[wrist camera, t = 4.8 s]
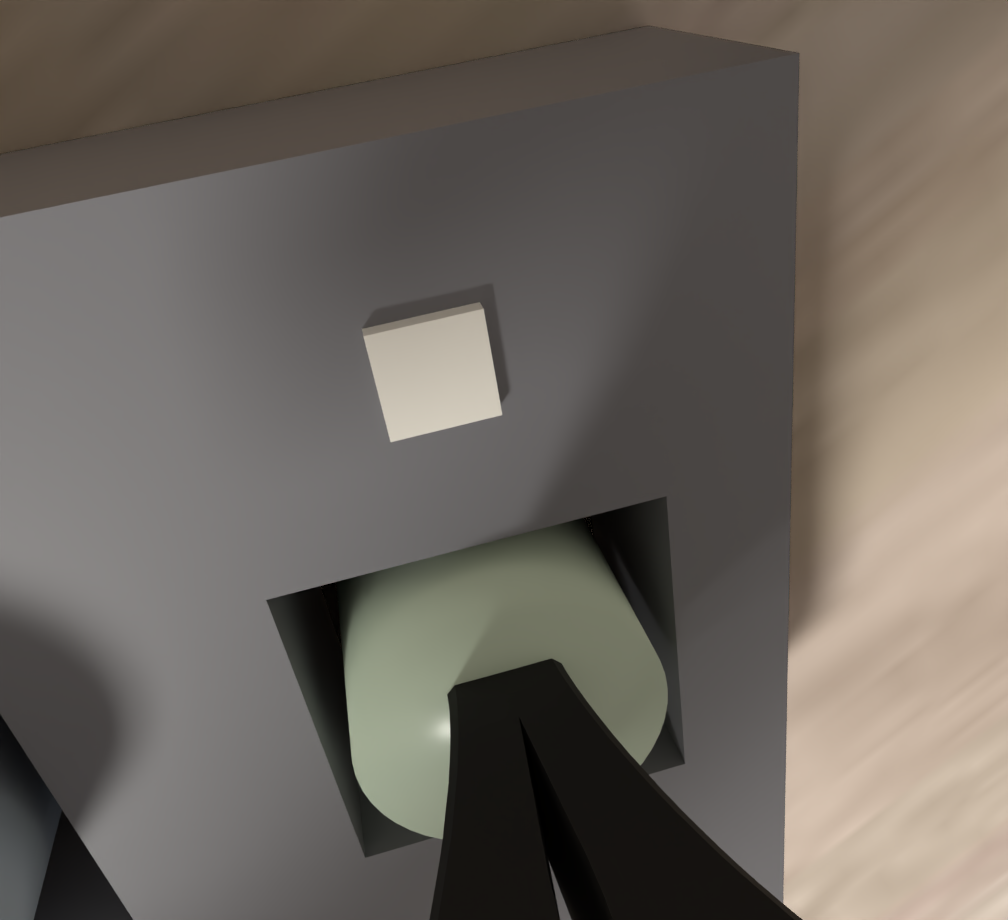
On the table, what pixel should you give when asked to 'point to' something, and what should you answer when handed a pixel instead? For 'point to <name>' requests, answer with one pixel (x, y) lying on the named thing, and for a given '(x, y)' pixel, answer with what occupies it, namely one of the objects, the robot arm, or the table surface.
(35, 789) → the button two
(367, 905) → the button panel
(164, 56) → the table surface
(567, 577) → the button one
